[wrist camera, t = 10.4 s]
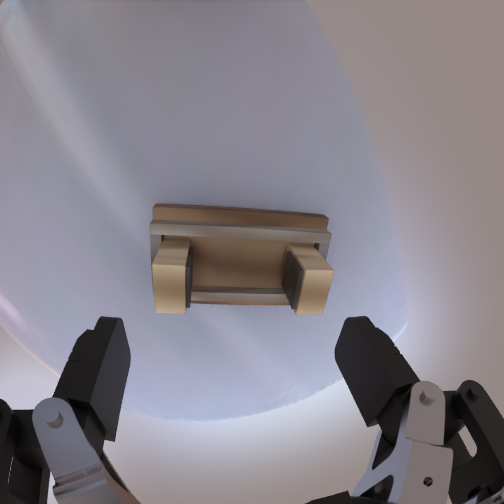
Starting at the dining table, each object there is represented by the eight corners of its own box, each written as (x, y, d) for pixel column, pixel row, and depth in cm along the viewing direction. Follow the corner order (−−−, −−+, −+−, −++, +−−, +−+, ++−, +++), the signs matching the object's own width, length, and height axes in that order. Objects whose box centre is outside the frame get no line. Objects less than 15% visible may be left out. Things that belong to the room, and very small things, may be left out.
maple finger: (303, 282, 34) (322, 314, 28) (278, 281, 34) (292, 315, 28) (311, 244, 32) (334, 270, 26) (284, 242, 32) (302, 269, 26)
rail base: (155, 203, 30) (136, 227, 22) (324, 215, 33) (355, 239, 25) (158, 294, 34) (146, 337, 26) (306, 298, 37) (327, 338, 30)
